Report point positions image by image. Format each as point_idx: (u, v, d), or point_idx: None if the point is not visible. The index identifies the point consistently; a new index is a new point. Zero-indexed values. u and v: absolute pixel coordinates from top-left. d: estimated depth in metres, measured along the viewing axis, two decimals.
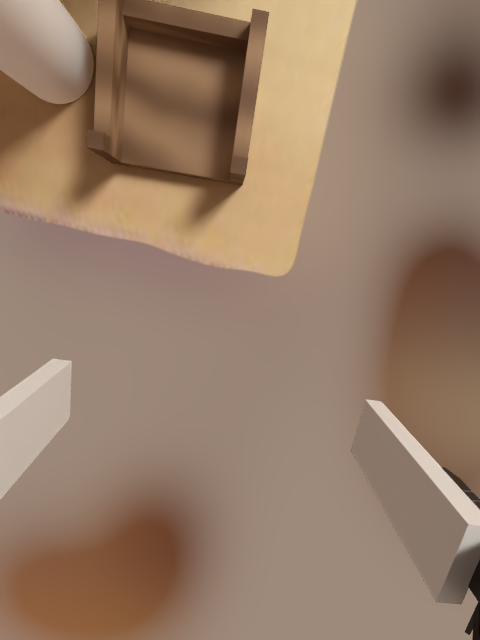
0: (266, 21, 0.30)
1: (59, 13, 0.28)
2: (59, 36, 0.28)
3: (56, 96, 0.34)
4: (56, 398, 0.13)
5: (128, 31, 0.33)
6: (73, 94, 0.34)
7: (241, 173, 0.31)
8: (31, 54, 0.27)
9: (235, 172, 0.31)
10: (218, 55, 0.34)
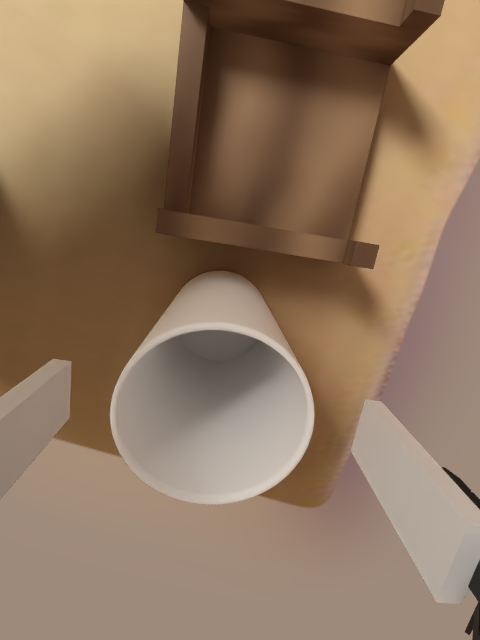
0: None
1: (213, 284, 0.20)
2: (238, 288, 0.20)
3: None
4: (56, 398, 0.13)
5: None
6: None
7: None
8: (275, 321, 0.19)
9: (441, 4, 0.17)
10: (216, 79, 0.22)
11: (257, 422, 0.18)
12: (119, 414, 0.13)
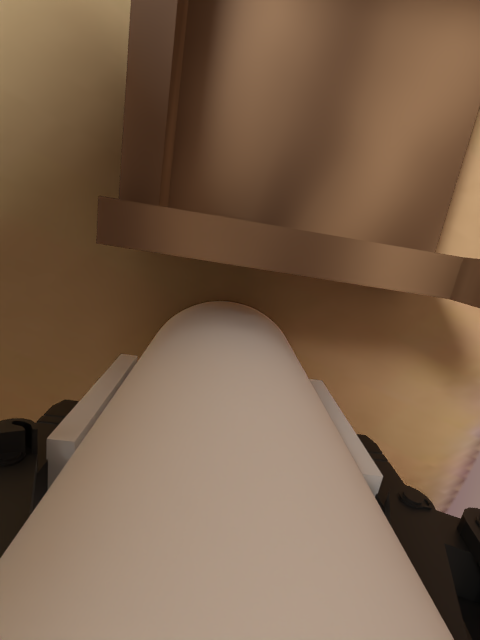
0: None
1: (206, 348, 0.10)
2: (257, 354, 0.10)
3: None
4: None
5: None
6: None
7: None
8: (339, 434, 0.09)
9: None
10: None
11: None
12: None
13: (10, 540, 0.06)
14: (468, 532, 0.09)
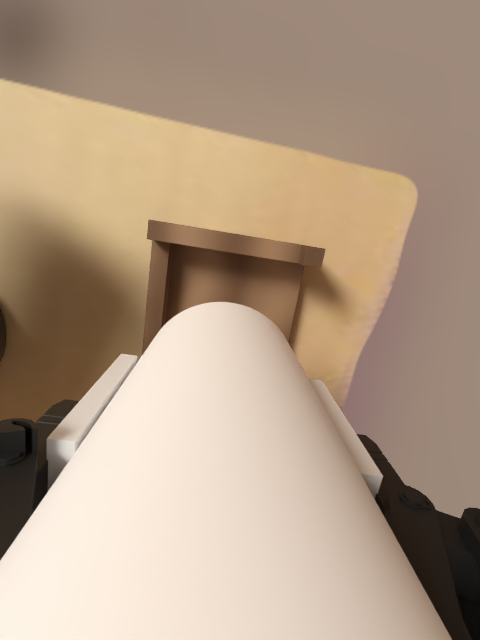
0: (157, 222, 0.26)
1: (206, 349, 0.10)
2: (257, 355, 0.10)
3: None
4: None
5: None
6: None
7: (323, 253, 0.26)
8: (338, 435, 0.09)
9: (321, 261, 0.26)
10: (179, 273, 0.31)
11: None
12: None
13: (10, 539, 0.06)
14: (468, 532, 0.09)
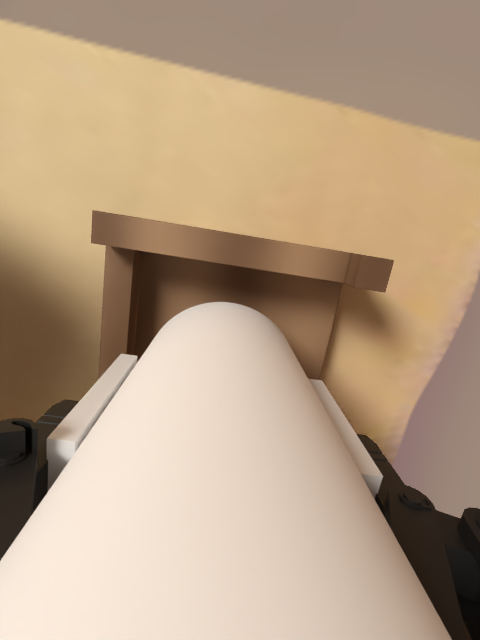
0: (108, 215, 0.15)
1: (206, 349, 0.10)
2: (257, 355, 0.10)
3: None
4: None
5: None
6: None
7: (389, 268, 0.15)
8: (338, 435, 0.09)
9: (385, 281, 0.15)
10: (152, 294, 0.20)
11: None
12: None
13: (10, 539, 0.06)
14: (468, 532, 0.09)
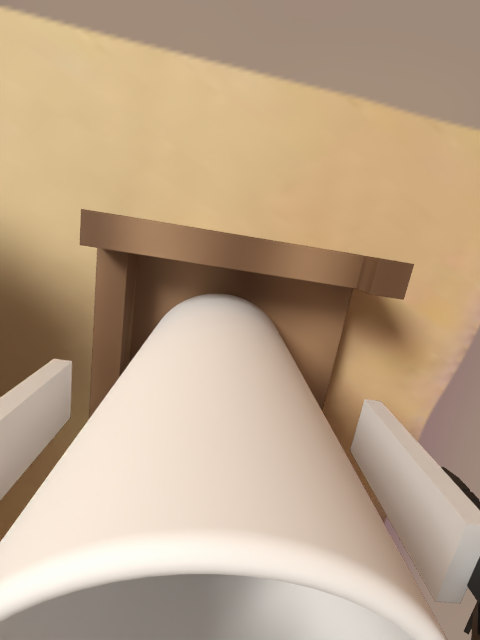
0: (98, 214, 0.14)
1: (202, 328, 0.12)
2: (246, 333, 0.12)
3: None
4: (57, 398, 0.13)
5: None
6: (278, 332, 0.19)
7: (409, 273, 0.14)
8: (313, 396, 0.11)
9: (404, 287, 0.14)
10: (149, 299, 0.19)
11: (285, 591, 0.10)
12: None
13: None
14: None
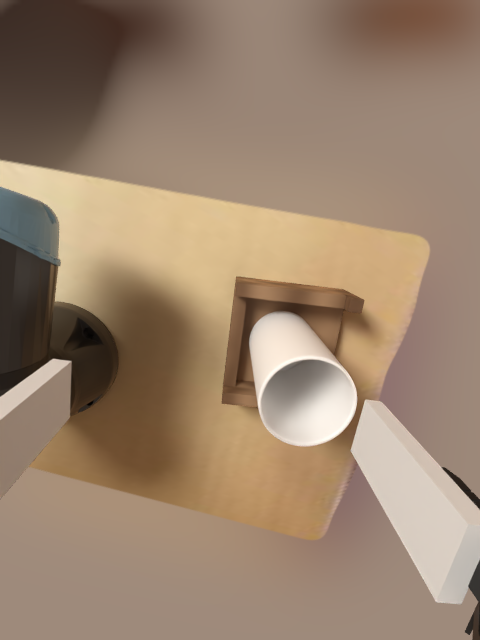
0: (242, 284, 0.36)
1: (287, 326, 0.34)
2: (302, 327, 0.34)
3: None
4: (56, 398, 0.13)
5: (238, 380, 0.43)
6: None
7: (362, 303, 0.36)
8: None
9: (361, 308, 0.36)
10: (250, 314, 0.41)
11: (320, 406, 0.32)
12: None
13: None
14: None
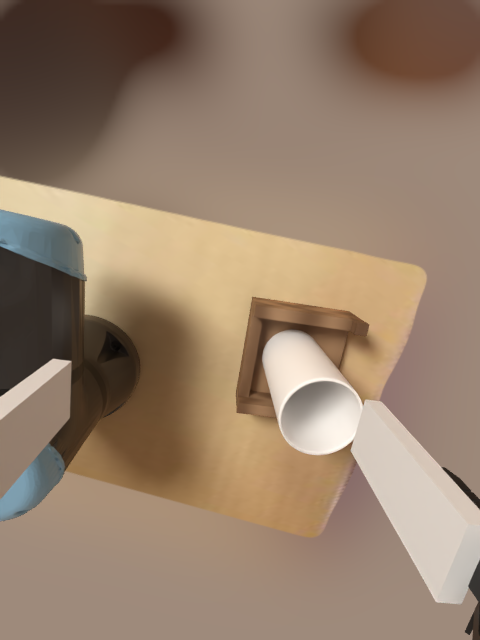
0: (261, 307, 0.40)
1: (300, 346, 0.38)
2: (314, 348, 0.39)
3: None
4: (56, 398, 0.13)
5: (250, 391, 0.47)
6: None
7: (367, 327, 0.40)
8: None
9: (366, 332, 0.40)
10: (264, 332, 0.45)
11: (328, 419, 0.36)
12: None
13: None
14: None
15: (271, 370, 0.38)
